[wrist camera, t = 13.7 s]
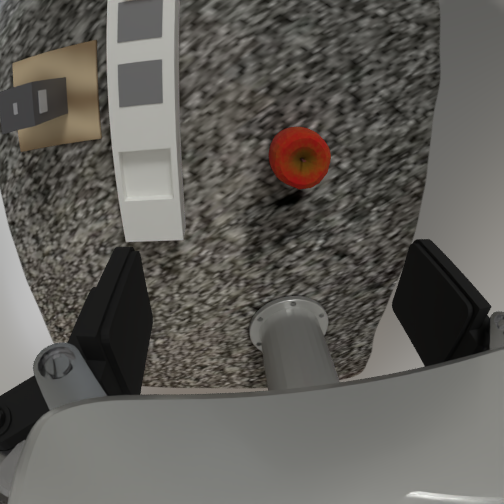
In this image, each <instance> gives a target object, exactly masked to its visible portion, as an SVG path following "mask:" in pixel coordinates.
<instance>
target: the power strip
mask: <svg viewBox="0 0 504 504" xmlns="http://www.w3.org/2000/svg"><path fill="white" fill-rule="evenodd" d="M179 11H180V0H108V3H107V84H108V103H109V117H110V130H111V141H112V150H113V159H114V168H115V176H116V183H117V191H118V198H119V204H120V211H121V217H122V223H123V228H124V234H125V240H126V242H140V241H168V240H183V239H184V233H185V228H186V219H185V206H184V192H183V176H182V157H181V135H180V105H179Z"/></svg>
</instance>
